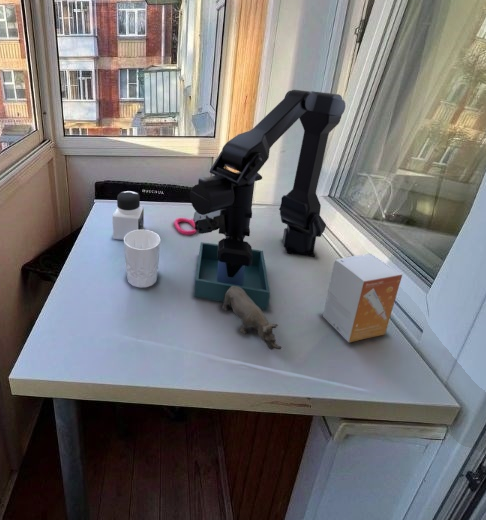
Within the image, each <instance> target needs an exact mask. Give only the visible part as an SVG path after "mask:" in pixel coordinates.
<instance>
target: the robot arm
mask: <svg viewBox="0 0 486 520" xmlns="http://www.w3.org/2000/svg"><path fill="white" fill-rule="evenodd" d="M345 110H346V101H345V100H343V96H342V94H338V93H333V92H331V93H330V92H321V91H315V90H312V91H310V90H301V89H292V90H288V91H287V92H286V94H285V95H284V97H283V99H282V100H281V101H280V102H278V104H277V105H276V106H275V107H273V108H272V109H271V110H270V111H269V112H268V114H266V115H265V116H264V117H263V118H262V119H261V120H260V121H259V122H258V123H257V124H256V125H255V126H254V127H252V129H250V130H247V131H244V132H241V133H238V134H236V135H235V136H234V137H232V138H231V139H230V140H228V141H227V142H226V143H225V144H224V145H223V147H222V148H221V151H220V153H219V154H218V156H217V157H216V159H215V161H214V163H213V164H212V166H211V168H210V169H209V173H210V174H212V176H206V177H205V176H203V177H199V178H198V180H197V182H198V183H197V184H195V185H193V186H192V188H191V191H189V198H190V203H191V206H192V207H193V209H194V210H195V211H194V214H193V218H192V219H193V220H194V224H195V227H193V228H194V229H195V230H197V231H196V232H197V234H199V235H202V234H209V233H212V232H214V231H218V234H220V235H224V238H222V239H221V240H219V241H217V242H218V255H217V260H219V261H220V262H225V263H226V268H227V275H228V277H232V278H233V277H234V276H235V275H236V273H237V272H238V271H239V270H240V268H241V267H242V266H250V265H252V257H253V256H252V249H253V247H252V245H251V244H250V243H249V242H248V241H245V240H244V239H245V237H250V236H251V230H250V229H251V228H250V225H251V219H252V218H253V209H252V207H253V200H254V191H255V182H257V181H261V180H263V176H262V175H261V173H259V171H260V170H261V169H262V168H263V167H264V165H265V164H266V162H267V161H268V160H269V157H270V151H271V150H270V149H271V148H272V147H273V146H274V144H275V143H276V142H277V141H278V140H279V139H280V138H281V137H282V136H283V135H284V134H285V133H286V132H287V131H288V130H289V129H290V128H291V127H292V126H293V125H294V124H296V122H297V121H298V120H299V121H300V123H301V126H302V128H303V136H302V140H301V146H300V151H299V156H298V160H297V167H296V171H295V176H294V180H293V181H294V182H293V187H292V189H291V190H290V191H289V192H288V193H287V194H284V195H283V196H282V197H281V199H280V200H281V201H280V206H279V208H278V210H279V216H280V221H281V224H285V225H286V227H285V228H284V229H283V235H282V246H283V248H285V252H286V254H289V255H295V256H301V257H308V258H316V253H315V246H316V242H317V241H316V240H317V238H321V237H322V234H323V233H324V232H325V231H326V227H327V223H326V222H325V220H324V219H323V218H322V216H321V208H322V206H321V202H320V200H319V197H318V195H317V188H318V185H319V179H320V175H321V170H322V165H323V161H324V158H325V157H324V156H325V153H326V147H327V143H328V138H329V135H330V133H331V132H332V131H333V130H334V129H335V128H336V127H337V126H338V125H339V124H340V122H341V120H342V116H343V114H344V113H345ZM225 167H227V168H229V169H227V168H225ZM230 169H231V170H230ZM232 170H234V171H237V172H234V171H232ZM231 236H232V239H226V238H230V237H231ZM237 237H238V240H237Z"/></svg>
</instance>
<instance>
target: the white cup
mask: <svg viewBox="0 0 486 520" xmlns="http://www.w3.org/2000/svg"><path fill="white" fill-rule="evenodd" d="M161 241H162V240H161V237H160V235H159V234H158V233H156V232H155V231H152V230H149V229H143V230H134V231H131V232H129V233H128V234H126V235H125V237H124V240H123V245H124V246H123V248H124V262H125V270H126V279H127V281H128V283H129V284H130V285H131V286H132V287H137V288H148V287H151V286H153V285H155V284H156V282H157V279H158V271H159V265H160V253H161Z"/></svg>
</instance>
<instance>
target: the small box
mask: <svg viewBox="0 0 486 520" xmlns="http://www.w3.org/2000/svg"><path fill="white" fill-rule="evenodd" d="M402 277H403V273H401V272H399V271H398V270H396V269H395V268H394V267H392V266H390V265H389V264H387V263H386V262H385V261H383V260H382V259H380V258H379V257H377V256H375V255H374V254H373V253H365V254H359V255H358V254H357V255H351V256H346V257H342V258H336V259H334V261H333V266H332V271H331V276H330V279H329V280H330V281H329V285H328V289H327V294H326V298H325V304H324V309H323V313H322V317H323V318H324V319H325V320H326V321H327V322H328V323H329V324H330V325H331V326H332V327H333V329H335V330H336V332H338V333H339V334H340V335H341V336H342V337H343V339H344V340H345V341H346V342H348V343H349V344H351V343H353V342H358V341H361V340H365V339H370V338H376V337H380V336H385V335H386V333H387V329H388V326H389V323H390V318H391V315H392V311H393V309H394V305H395V301H396V298H397V294H398V291H399V288H400V284H401V281H402Z"/></svg>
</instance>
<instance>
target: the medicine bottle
mask: <svg viewBox="0 0 486 520" xmlns="http://www.w3.org/2000/svg"><path fill="white" fill-rule="evenodd" d="M140 198H141V197H140V194H139V193H138V192H136V191H131V190H127V191H121V192H119V193H118V194H117V196H116V209H115V210H114V212H113V214H112V238H113V239H114V240H122V241H124V237H125V235H126V234H128V233H129V232H131V231H134V230H144V224H145V223H144V222H145V221H144V220H145V219H144V215H145V214H144V213H145V212H144V211H145V210H144V206H143V205H141V203H140V202H141V199H140Z"/></svg>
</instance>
